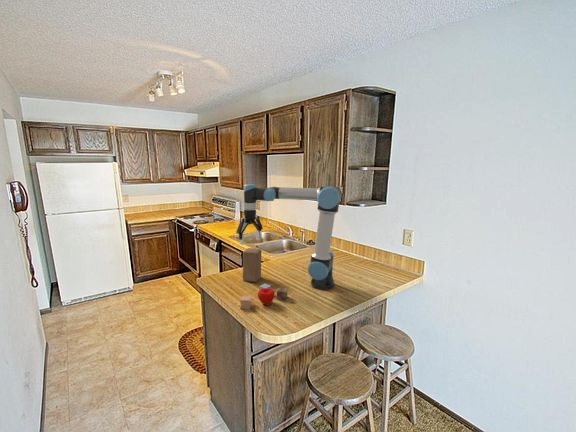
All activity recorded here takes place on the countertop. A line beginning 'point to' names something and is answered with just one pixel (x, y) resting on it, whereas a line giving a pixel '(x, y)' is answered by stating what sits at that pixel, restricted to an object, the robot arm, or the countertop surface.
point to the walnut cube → (282, 293)
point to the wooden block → (251, 264)
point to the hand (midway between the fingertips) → (249, 242)
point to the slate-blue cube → (264, 286)
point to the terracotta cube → (246, 302)
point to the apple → (266, 295)
